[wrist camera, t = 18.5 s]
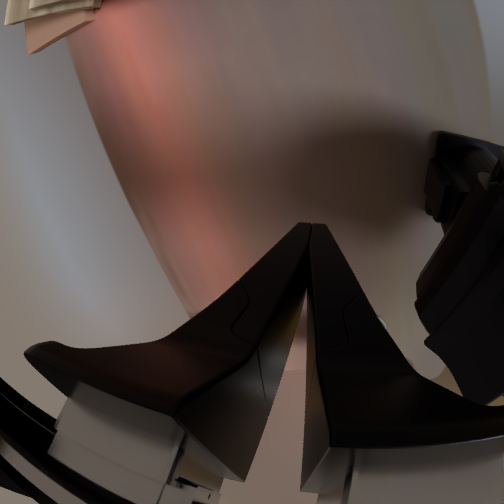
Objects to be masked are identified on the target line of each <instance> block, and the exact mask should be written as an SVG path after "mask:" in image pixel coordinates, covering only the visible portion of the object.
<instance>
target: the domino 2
mask: <svg viewBox="0 0 504 504" xmlns="http://www.w3.org/2000/svg"><path fill="white" fill-rule="evenodd" d="M94 20H95V17H94V8H93V9H85V10H78V11H72V12H66V13H60V14H55V15H50V16H46V17H41V18H37V19H33V20H29V21H25V32H26V40H27V47H28V54H29V55H30V54H33V53H37V52H40V51H42V50H43V49H45V48H46V47H48V46H49V45H51V44H52V43H55V42H56V41H58V40H60V39H61V38H63V37H65V35H67V34H69V33H71V32H73V31H74V30H76V29H78V28H80V27H82V26H84V25H86V24H88V23H90V22H92V21H94Z"/></svg>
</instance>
